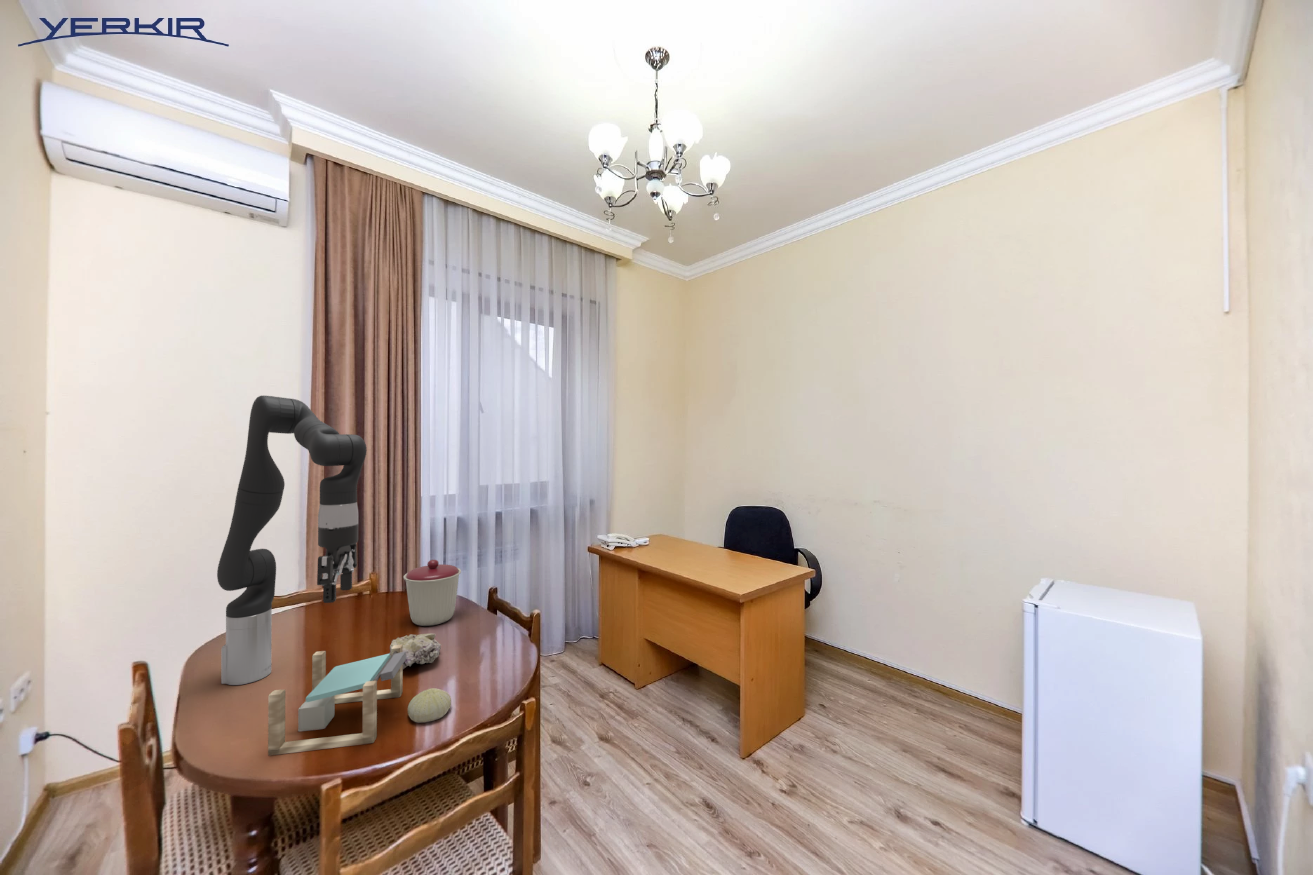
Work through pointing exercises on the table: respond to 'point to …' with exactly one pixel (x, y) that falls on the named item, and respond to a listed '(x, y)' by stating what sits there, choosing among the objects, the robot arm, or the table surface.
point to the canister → (432, 593)
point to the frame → (367, 696)
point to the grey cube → (316, 714)
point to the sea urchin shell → (429, 705)
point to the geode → (418, 648)
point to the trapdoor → (356, 675)
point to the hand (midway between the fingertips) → (338, 595)
